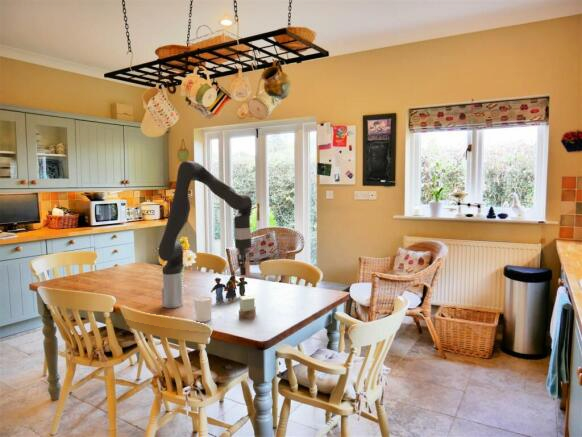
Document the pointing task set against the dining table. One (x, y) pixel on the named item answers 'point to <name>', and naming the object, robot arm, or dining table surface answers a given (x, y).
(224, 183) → the robot arm
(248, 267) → the terracotta cylinder
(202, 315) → the white cup
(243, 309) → the sage cube
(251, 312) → the walnut base
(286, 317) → the dining table surface
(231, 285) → the doll family
